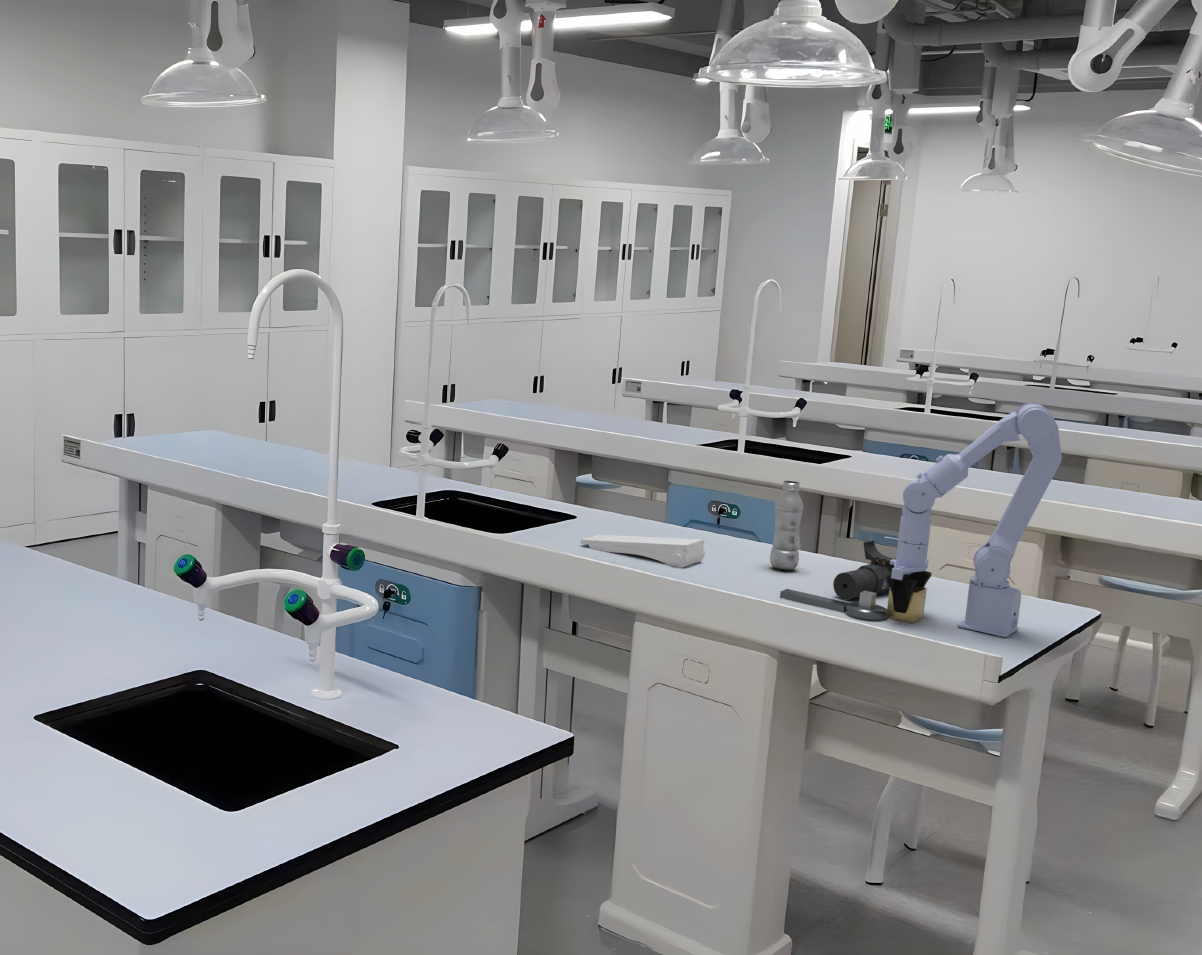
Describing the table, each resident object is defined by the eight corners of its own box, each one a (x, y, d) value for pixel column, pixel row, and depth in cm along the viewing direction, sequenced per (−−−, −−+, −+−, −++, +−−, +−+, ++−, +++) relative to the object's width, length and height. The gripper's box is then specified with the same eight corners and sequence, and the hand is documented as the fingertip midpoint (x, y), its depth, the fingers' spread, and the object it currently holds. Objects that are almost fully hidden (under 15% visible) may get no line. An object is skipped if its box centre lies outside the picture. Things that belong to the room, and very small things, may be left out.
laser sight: (823, 595, 243) (828, 548, 242) (882, 581, 259) (887, 537, 257) (863, 606, 236) (868, 558, 235) (921, 591, 252) (926, 546, 251)
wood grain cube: (923, 617, 230) (926, 588, 229) (913, 622, 226) (916, 592, 225) (896, 611, 233) (899, 582, 232) (886, 616, 229) (889, 587, 228)
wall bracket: (582, 571, 273) (688, 578, 257) (576, 542, 270) (683, 548, 255) (604, 554, 280) (708, 560, 265) (599, 526, 278) (703, 530, 263)
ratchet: (892, 616, 230) (895, 593, 229) (877, 624, 223) (879, 600, 223) (791, 593, 242) (794, 571, 242) (774, 600, 236) (776, 577, 235)
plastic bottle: (776, 573, 259) (784, 484, 256) (763, 565, 265) (772, 479, 262) (802, 573, 261) (811, 485, 258) (790, 565, 267) (798, 479, 264)
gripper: (907, 533, 235) (899, 598, 237) (879, 543, 224) (872, 611, 226) (941, 539, 231) (933, 605, 234) (915, 549, 220) (907, 619, 222)
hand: (905, 609), depth 229 cm, fingers closed on wood grain cube, 5 cm apart
